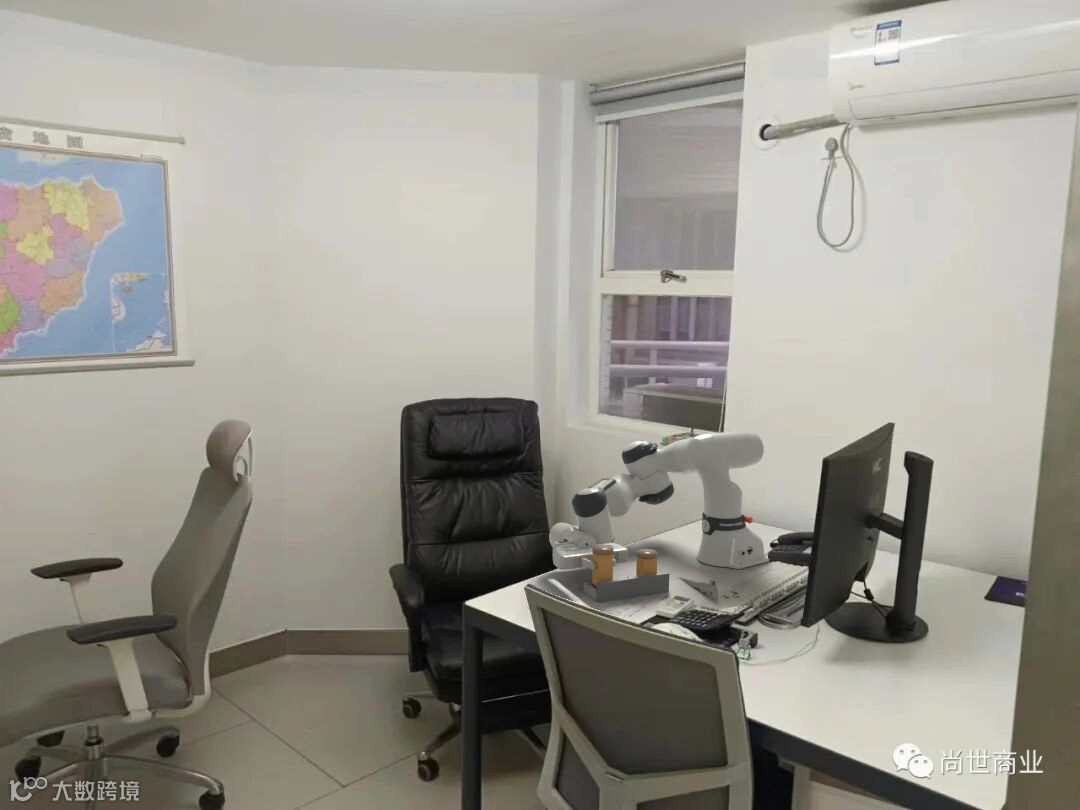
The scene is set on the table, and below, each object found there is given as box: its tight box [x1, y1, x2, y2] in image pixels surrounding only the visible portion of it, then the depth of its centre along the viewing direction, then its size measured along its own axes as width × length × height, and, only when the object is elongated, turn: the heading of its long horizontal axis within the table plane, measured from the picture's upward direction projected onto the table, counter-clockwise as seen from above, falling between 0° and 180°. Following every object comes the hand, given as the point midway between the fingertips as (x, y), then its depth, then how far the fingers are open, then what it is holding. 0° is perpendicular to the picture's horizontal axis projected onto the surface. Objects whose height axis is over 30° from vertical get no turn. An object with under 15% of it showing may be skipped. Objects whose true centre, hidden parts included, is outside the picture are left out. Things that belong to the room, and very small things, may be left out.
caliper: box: [677, 576, 719, 602], centre depth 217 cm, size 20×1×6 cm, turn 20°
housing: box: [581, 571, 670, 604], centre depth 214 cm, size 21×10×6 cm, turn 112°
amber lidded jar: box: [591, 545, 614, 585], centre depth 211 cm, size 6×6×10 cm
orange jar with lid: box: [635, 548, 659, 577], centre depth 216 cm, size 6×6×10 cm
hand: (604, 565), depth 210 cm, fingers closed on amber lidded jar, 4 cm apart
